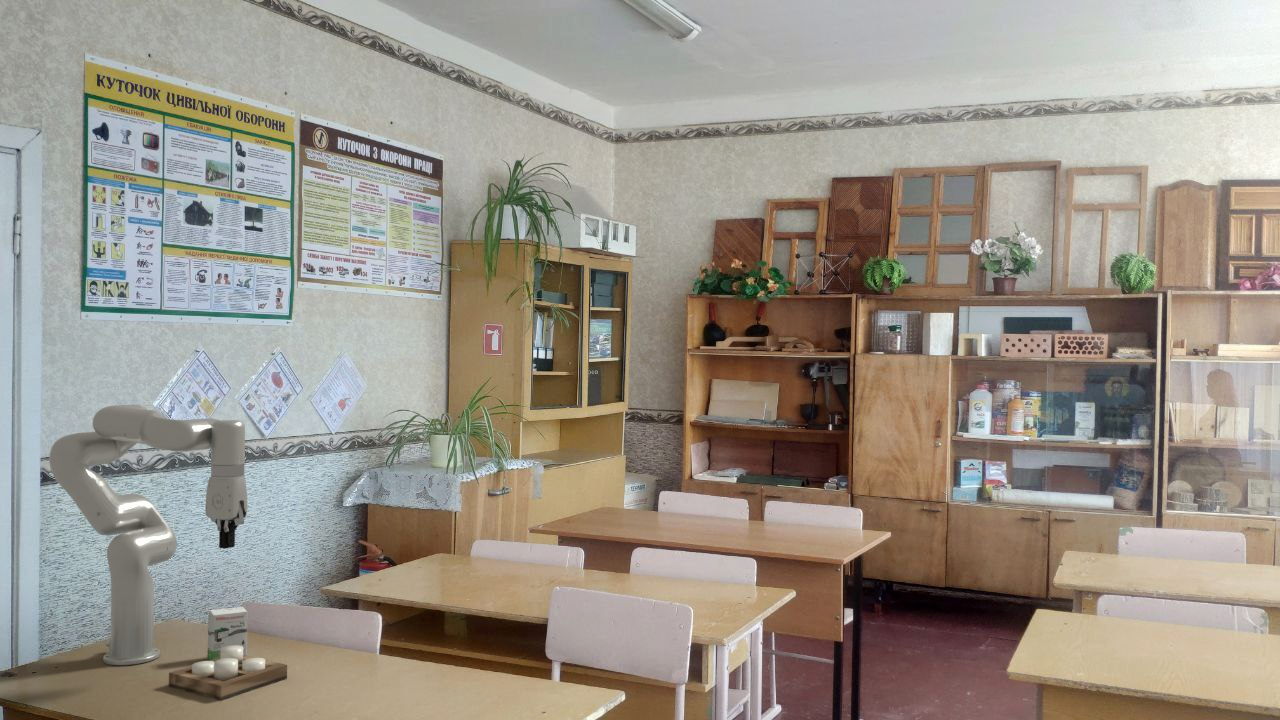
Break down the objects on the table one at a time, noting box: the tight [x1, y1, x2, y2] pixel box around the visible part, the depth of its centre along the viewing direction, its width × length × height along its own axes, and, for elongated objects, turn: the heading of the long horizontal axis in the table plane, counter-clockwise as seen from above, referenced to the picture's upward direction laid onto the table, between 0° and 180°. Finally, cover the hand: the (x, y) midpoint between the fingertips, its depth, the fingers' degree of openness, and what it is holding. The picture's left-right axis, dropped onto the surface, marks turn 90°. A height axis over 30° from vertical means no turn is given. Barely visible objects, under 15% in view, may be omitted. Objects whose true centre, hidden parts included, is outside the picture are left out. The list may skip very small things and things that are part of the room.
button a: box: [191, 660, 214, 676], centre depth 233 cm, size 5×5×4 cm
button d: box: [242, 657, 266, 673], centre depth 236 cm, size 5×5×4 cm
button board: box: [168, 655, 288, 701], centre depth 234 cm, size 18×18×3 cm
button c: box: [214, 658, 238, 680], centre depth 229 cm, size 5×5×4 cm
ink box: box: [206, 606, 248, 661], centre depth 254 cm, size 9×5×12 cm, turn 123°
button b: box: [220, 645, 243, 665], centre depth 240 cm, size 5×5×4 cm
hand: (227, 547), depth 246 cm, fingers closed
